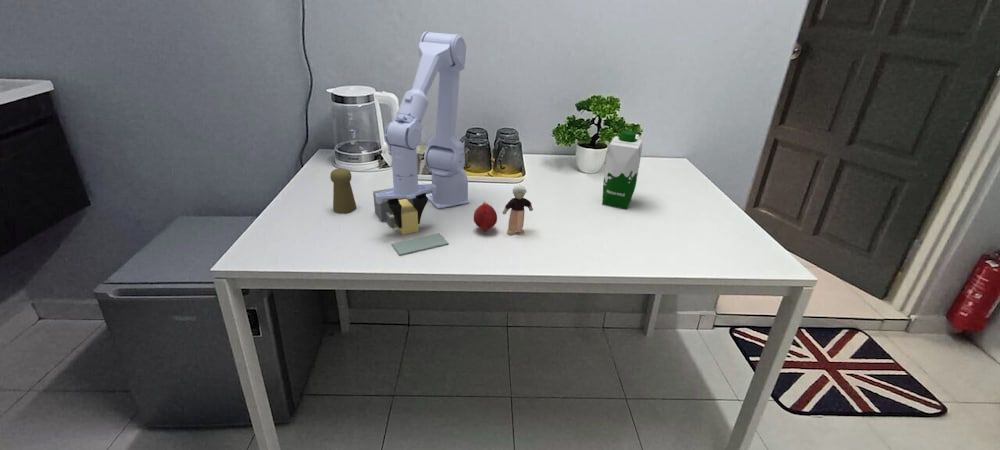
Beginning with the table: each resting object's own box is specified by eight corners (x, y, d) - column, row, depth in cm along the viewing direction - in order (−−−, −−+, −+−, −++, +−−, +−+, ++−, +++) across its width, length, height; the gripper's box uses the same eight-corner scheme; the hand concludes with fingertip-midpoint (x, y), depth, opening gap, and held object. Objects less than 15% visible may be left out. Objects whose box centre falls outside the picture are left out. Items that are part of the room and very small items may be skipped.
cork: (350, 214, 127) (345, 175, 122) (328, 212, 128) (323, 172, 123) (360, 205, 132) (356, 167, 127) (340, 202, 133) (335, 164, 128)
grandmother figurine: (507, 238, 119) (509, 190, 113) (500, 231, 122) (501, 184, 116) (534, 232, 122) (538, 185, 116) (526, 225, 125) (529, 179, 119)
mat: (439, 234, 119) (439, 232, 119) (448, 244, 115) (448, 243, 115) (391, 244, 114) (391, 243, 114) (399, 255, 110) (399, 254, 110)
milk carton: (634, 199, 142) (646, 132, 133) (629, 211, 135) (641, 141, 126) (604, 193, 145) (614, 128, 136) (598, 205, 138) (607, 136, 129)
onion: (499, 227, 124) (500, 198, 120) (492, 237, 119) (492, 208, 115) (478, 223, 125) (478, 195, 122) (469, 233, 120) (470, 204, 117)
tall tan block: (407, 218, 127) (406, 198, 124) (418, 231, 120) (417, 211, 118) (392, 220, 125) (390, 201, 122) (402, 234, 119) (401, 214, 116)
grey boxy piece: (407, 206, 133) (406, 185, 130) (421, 221, 125) (420, 199, 123) (375, 212, 129) (373, 191, 126) (386, 228, 121) (384, 206, 118)
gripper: (379, 183, 107) (384, 237, 114) (440, 173, 114) (441, 225, 120) (370, 172, 113) (375, 224, 119) (429, 163, 119) (431, 213, 126)
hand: (408, 224), depth 120 cm, fingers closed on tall tan block, 4 cm apart
